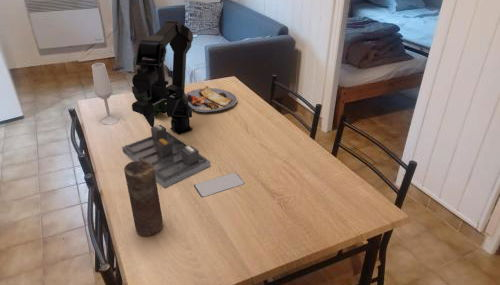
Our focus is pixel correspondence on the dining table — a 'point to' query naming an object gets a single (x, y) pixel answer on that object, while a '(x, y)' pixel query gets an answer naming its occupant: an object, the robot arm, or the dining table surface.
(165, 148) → the breaker mid
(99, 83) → the champagne flute
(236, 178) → the smartphone
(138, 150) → the panel
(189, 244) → the dining table surface
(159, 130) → the block
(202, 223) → the dining table surface
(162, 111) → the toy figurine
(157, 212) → the candle
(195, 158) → the breaker
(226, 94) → the food plate
